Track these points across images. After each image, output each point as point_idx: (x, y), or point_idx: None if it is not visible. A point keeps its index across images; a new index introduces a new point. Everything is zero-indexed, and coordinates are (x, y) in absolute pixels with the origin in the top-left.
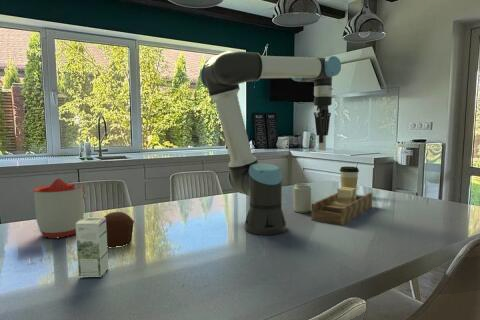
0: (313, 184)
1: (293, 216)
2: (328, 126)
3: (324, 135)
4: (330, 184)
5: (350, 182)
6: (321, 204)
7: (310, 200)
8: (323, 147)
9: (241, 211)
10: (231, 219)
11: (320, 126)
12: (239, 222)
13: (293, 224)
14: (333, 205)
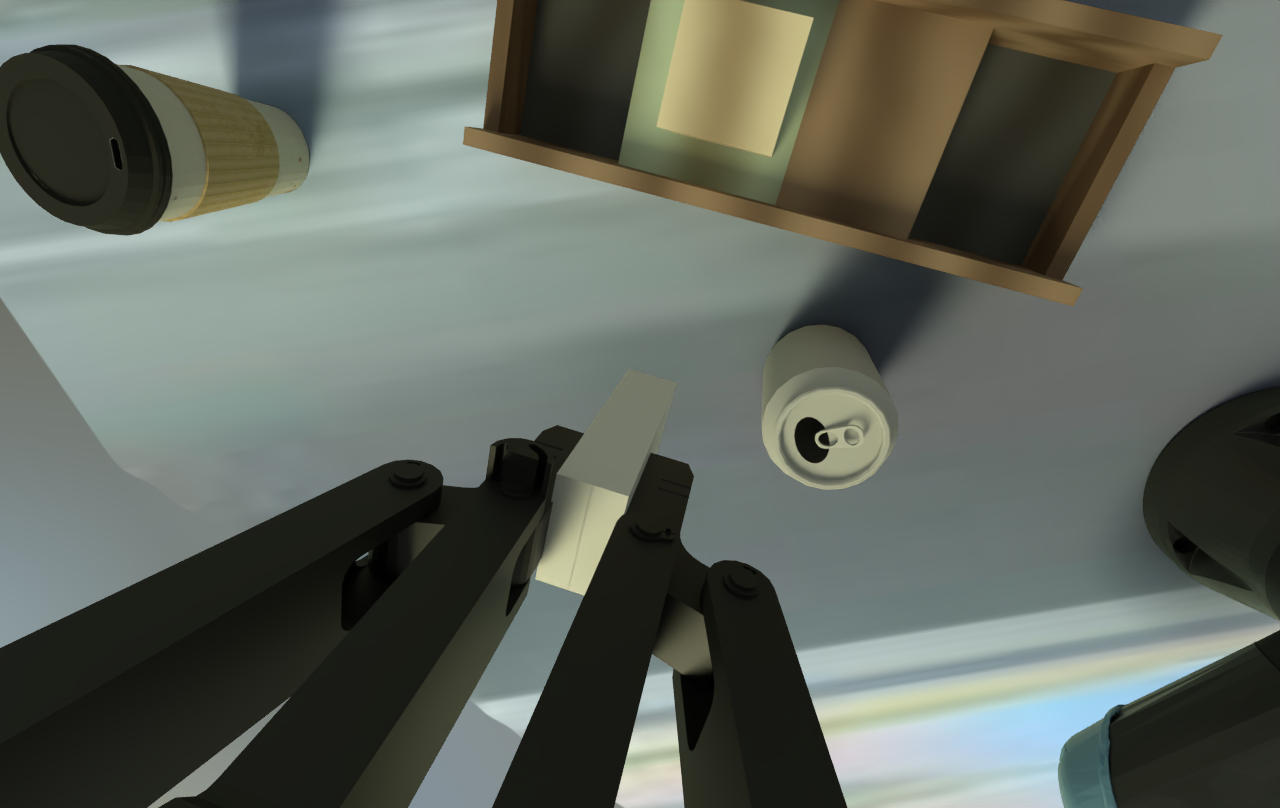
0: (99, 415)
1: (960, 396)
2: (250, 552)
3: (549, 502)
4: (31, 316)
5: (228, 126)
6: (942, 249)
7: (831, 341)
8: (666, 412)
9: (910, 652)
10: (1089, 664)
11: (827, 766)
12: (1146, 622)
13: (1154, 366)
14: (874, 170)
